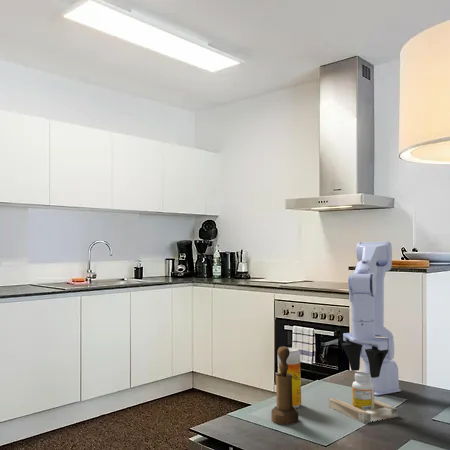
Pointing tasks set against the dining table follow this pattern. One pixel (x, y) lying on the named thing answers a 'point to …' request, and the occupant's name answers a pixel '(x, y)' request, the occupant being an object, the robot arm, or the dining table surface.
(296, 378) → the beer can
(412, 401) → the dining table surface
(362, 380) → the supplement bottle
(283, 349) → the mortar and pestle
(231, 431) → the dining table surface
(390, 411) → the slide channel
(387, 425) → the dining table surface
